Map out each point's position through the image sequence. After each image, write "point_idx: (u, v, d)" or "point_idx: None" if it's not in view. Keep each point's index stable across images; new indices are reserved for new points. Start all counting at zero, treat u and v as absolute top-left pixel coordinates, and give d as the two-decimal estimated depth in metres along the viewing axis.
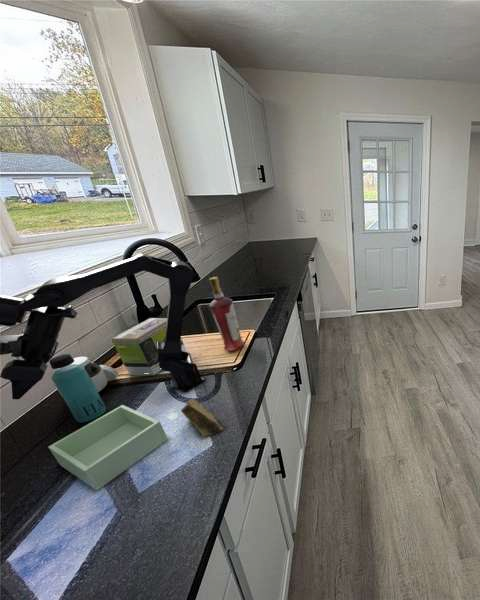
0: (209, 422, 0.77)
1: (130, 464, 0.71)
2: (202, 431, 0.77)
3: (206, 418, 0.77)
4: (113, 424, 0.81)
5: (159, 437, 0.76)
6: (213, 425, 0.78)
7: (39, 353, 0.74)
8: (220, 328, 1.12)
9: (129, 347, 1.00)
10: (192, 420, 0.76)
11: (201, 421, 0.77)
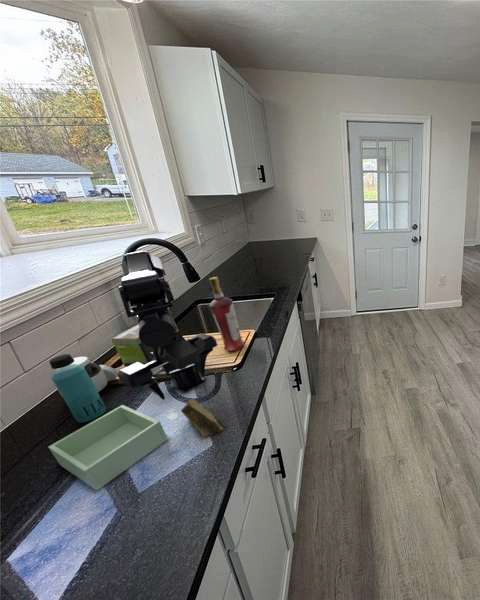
0: (209, 422, 0.77)
1: (130, 464, 0.71)
2: (202, 431, 0.77)
3: (206, 418, 0.77)
4: (113, 424, 0.81)
5: (159, 437, 0.76)
6: (213, 425, 0.78)
7: None
8: (220, 328, 1.12)
9: (129, 347, 1.00)
10: (192, 420, 0.76)
11: (201, 421, 0.77)
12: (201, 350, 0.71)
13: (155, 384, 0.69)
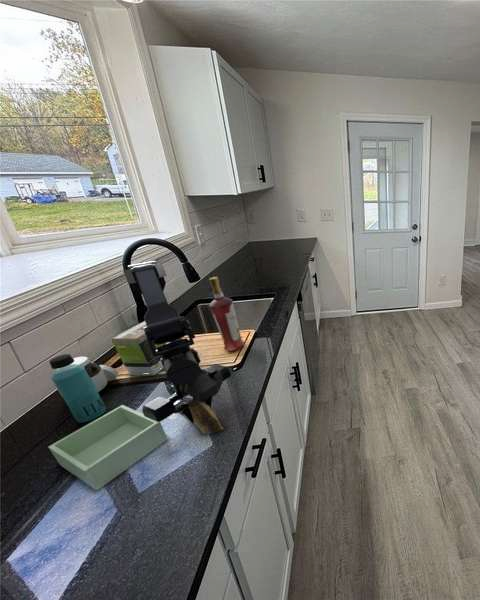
0: (211, 419, 0.78)
1: (130, 464, 0.71)
2: (203, 428, 0.77)
3: (209, 414, 0.77)
4: (113, 424, 0.81)
5: (159, 437, 0.76)
6: (214, 423, 0.78)
7: None
8: (220, 328, 1.12)
9: (129, 347, 1.00)
10: (195, 415, 0.76)
11: (204, 417, 0.77)
12: (220, 383, 0.75)
13: (187, 410, 0.75)
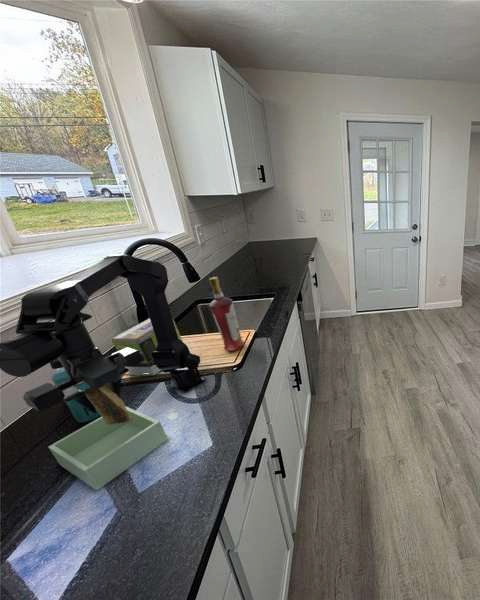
0: (116, 408, 0.69)
1: (130, 464, 0.71)
2: (106, 418, 0.68)
3: (113, 403, 0.69)
4: (113, 424, 0.81)
5: (159, 437, 0.76)
6: (120, 413, 0.69)
7: None
8: (220, 328, 1.12)
9: (129, 347, 1.00)
10: (95, 404, 0.67)
11: (107, 406, 0.68)
12: (122, 367, 0.66)
13: (84, 398, 0.66)
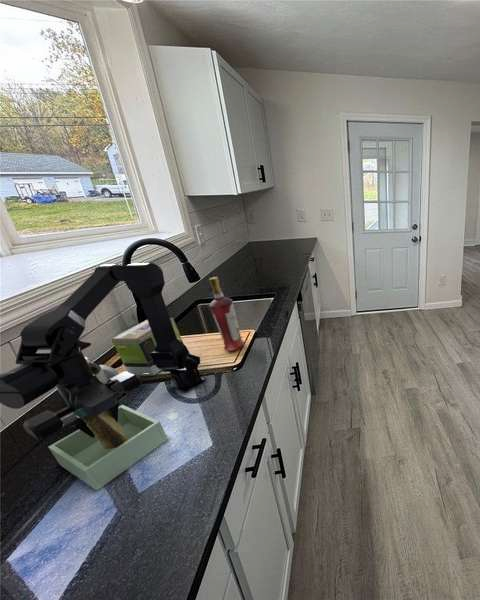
0: (113, 433, 0.71)
1: (130, 464, 0.71)
2: (104, 443, 0.70)
3: (110, 428, 0.70)
4: None
5: (159, 437, 0.76)
6: (117, 437, 0.71)
7: None
8: (220, 328, 1.12)
9: (129, 347, 1.00)
10: (93, 429, 0.69)
11: (104, 432, 0.70)
12: (119, 394, 0.68)
13: (82, 424, 0.68)
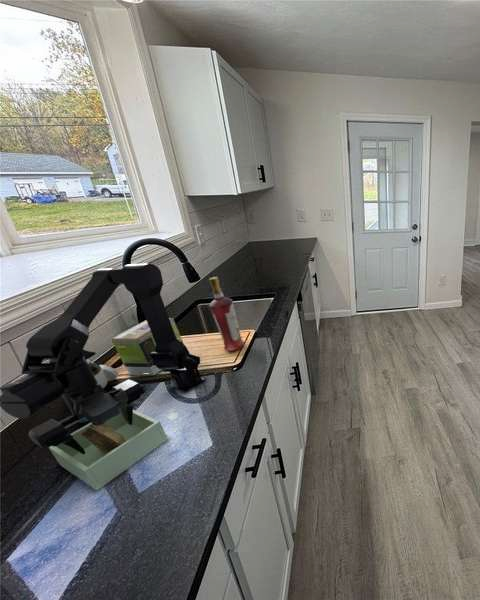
0: (116, 445, 0.71)
1: (130, 464, 0.71)
2: None
3: (112, 441, 0.71)
4: (113, 424, 0.81)
5: (159, 437, 0.76)
6: None
7: None
8: (220, 328, 1.12)
9: (129, 347, 1.00)
10: (95, 444, 0.69)
11: (106, 444, 0.71)
12: (123, 403, 0.69)
13: (72, 440, 0.67)
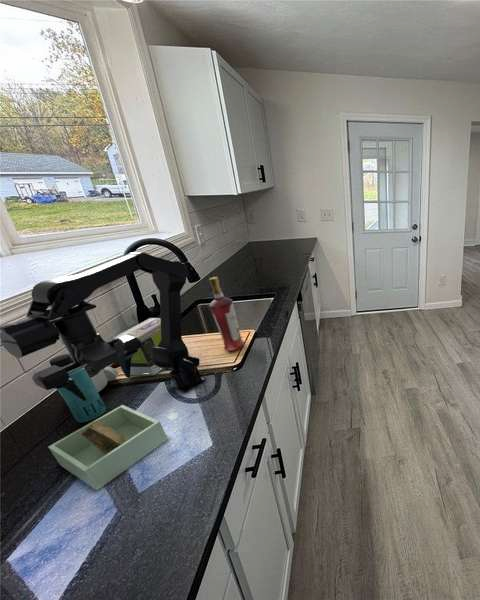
0: (116, 445, 0.71)
1: (130, 464, 0.71)
2: None
3: (112, 441, 0.71)
4: (113, 424, 0.81)
5: (159, 437, 0.76)
6: None
7: None
8: (220, 328, 1.12)
9: None
10: (95, 444, 0.69)
11: (106, 444, 0.71)
12: (121, 351, 0.73)
13: (74, 386, 0.71)
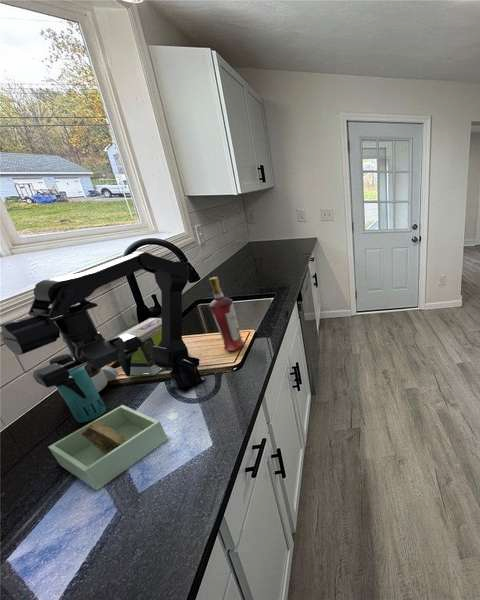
0: (116, 445, 0.71)
1: (130, 464, 0.71)
2: None
3: (112, 441, 0.71)
4: (113, 424, 0.81)
5: (159, 437, 0.76)
6: None
7: None
8: (220, 328, 1.12)
9: None
10: (95, 444, 0.69)
11: (106, 444, 0.71)
12: (121, 350, 0.73)
13: (74, 384, 0.71)
